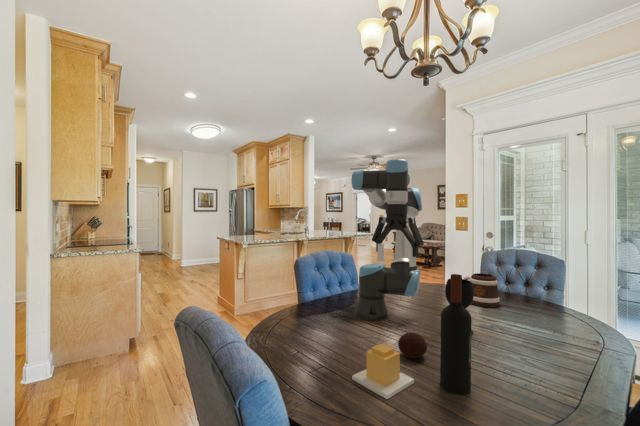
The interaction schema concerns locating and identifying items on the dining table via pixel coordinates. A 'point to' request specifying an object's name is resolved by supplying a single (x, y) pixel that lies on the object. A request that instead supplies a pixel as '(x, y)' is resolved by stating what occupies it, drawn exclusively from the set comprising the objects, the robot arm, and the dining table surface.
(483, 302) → the mug
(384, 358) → the orange block
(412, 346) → the potato
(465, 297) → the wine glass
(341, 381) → the dining table surface
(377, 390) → the post plate
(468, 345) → the wine bottle
